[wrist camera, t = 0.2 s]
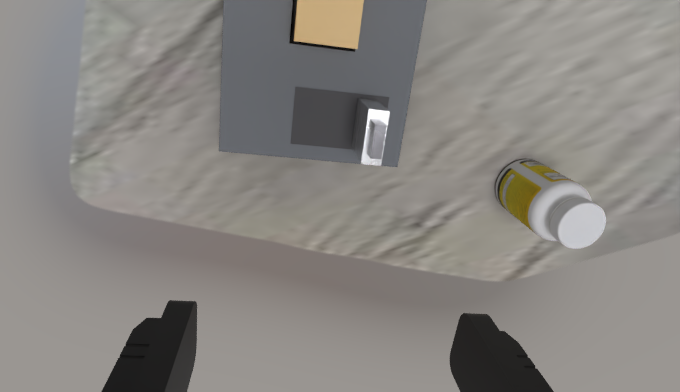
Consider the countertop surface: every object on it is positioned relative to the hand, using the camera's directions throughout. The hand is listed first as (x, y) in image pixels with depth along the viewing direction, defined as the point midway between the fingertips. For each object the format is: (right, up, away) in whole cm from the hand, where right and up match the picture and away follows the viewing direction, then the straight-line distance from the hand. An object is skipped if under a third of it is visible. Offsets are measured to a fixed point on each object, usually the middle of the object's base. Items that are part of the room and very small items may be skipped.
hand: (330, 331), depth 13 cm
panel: (-1, +18, +23) cm, 29 cm away
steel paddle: (+2, +10, +23) cm, 25 cm away
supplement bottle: (+18, +5, +30) cm, 36 cm away
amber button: (-1, +18, +21) cm, 28 cm away
